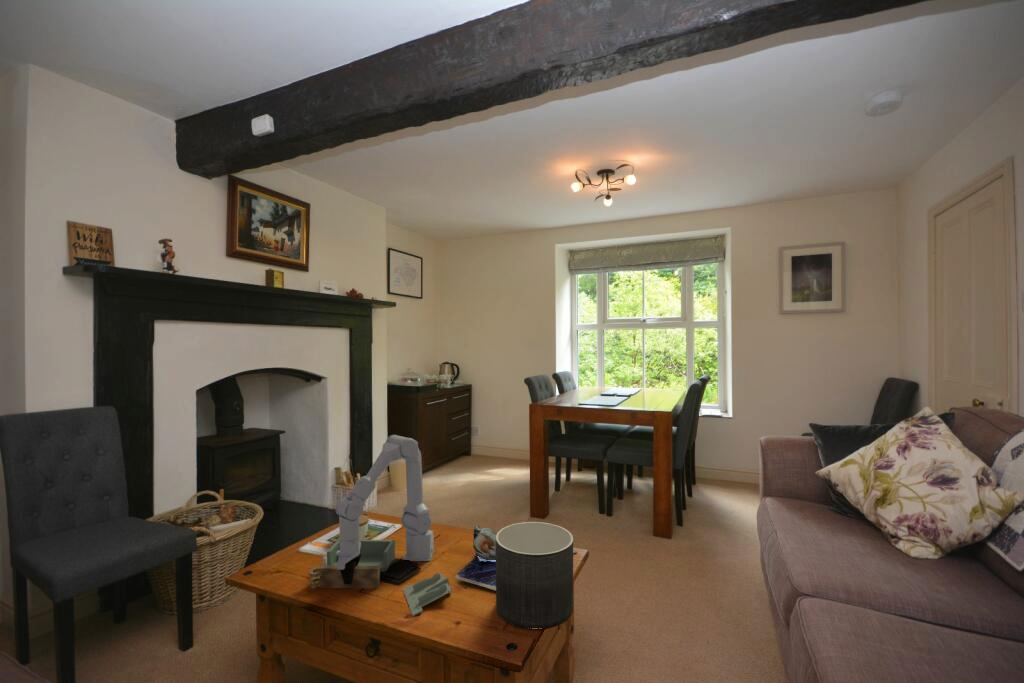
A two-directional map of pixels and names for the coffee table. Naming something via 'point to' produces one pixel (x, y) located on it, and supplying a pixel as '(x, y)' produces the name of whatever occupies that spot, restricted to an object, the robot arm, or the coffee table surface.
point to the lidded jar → (362, 526)
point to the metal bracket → (426, 592)
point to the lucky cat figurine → (484, 543)
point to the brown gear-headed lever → (333, 578)
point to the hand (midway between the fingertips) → (349, 581)
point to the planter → (534, 575)
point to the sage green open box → (366, 553)
